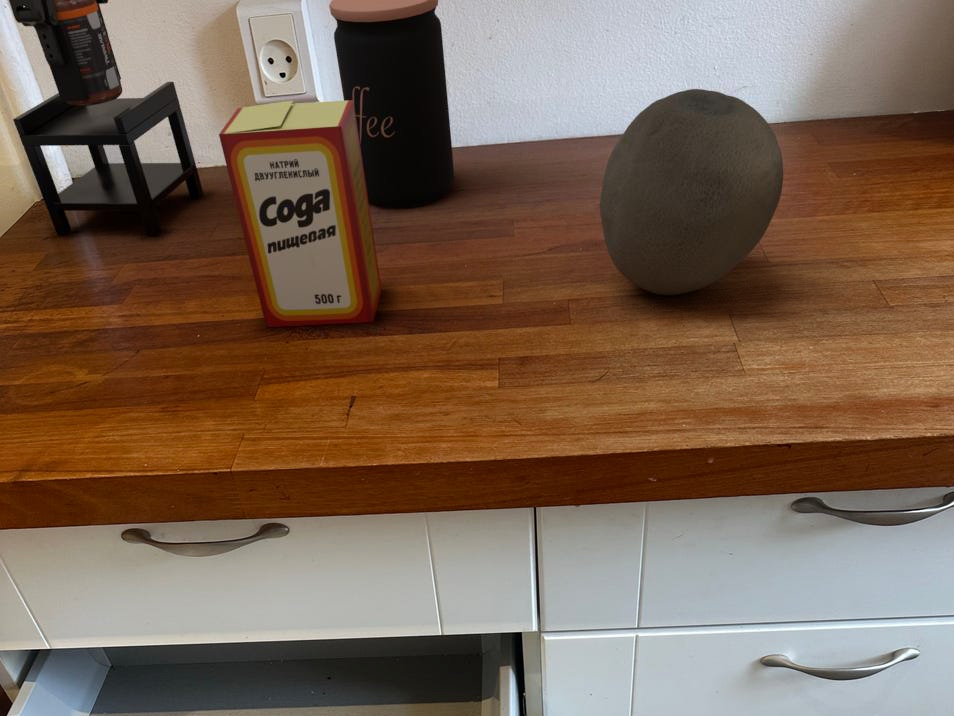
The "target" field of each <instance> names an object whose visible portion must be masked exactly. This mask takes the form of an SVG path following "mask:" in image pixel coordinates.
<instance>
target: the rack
mask: <svg viewBox="0 0 954 716" xmlns="http://www.w3.org/2000/svg"><path fill="white" fill-rule="evenodd" d="M166 118H167V119H168V123H169V127H170V130H171V134H172V137H173V141H174V145H175V148H176V151H177V155H178V158H179V162H141V158H140V155H139V152H138V149H137V144H136V142H135V141H136V140H138V139H139V138H141V137H142V136H143V135H144V134H146V133H147V132H149V131H151V130H152V129H153V128H154V127H156V126H157V125H158V124H160V123H161V122H163V121H164V120H165V119H166ZM12 121H13V123H14V126H15V128H16V131H17V133H18V137H19V139H20V142H21V145H22V147H23V150H24V152H25V155H26V158H27V159H28V163H29V165H30V169H31V170H32V173H33V175H34V179H35V181H36V183H37V186H38V189H39V192H40V194H41V196H42V199H43V201H44V204H45V207H46V209H47V212H48V214H49V217H50V220H51V222H52V225H53V228H54V231H55V233H56V235H57V236H68V235H69V234H71V233H72V231H73V230H72V227H71V225H70V222H69V218H68V216H67V214H66V212H67V211H69V212H71V211H73V212H139V215H140V217H141V221H142V224H143V227H144V230H145V232H146V236H147V237H158V236H160V235H161V234H162V233H163V231H162V227H161V224H160V221H159V218H158V214H157V210H156V206H158V204H160V203H161V202H162V201H163V200H164V199H166V198H167V197H168V196H170V194H171V193H173V192H174V191H175V190H176V189H177V188H178V187H180V186H181V185H182V184H183V183H184V182H185V184H186V188H187V191H188V195H189V198H190V199H200V198H201V197H202V196H203V195H205V194H204V190H203V185H202V182H201V179H200V175H199V171H198V167H197V164H196V160H195V156H194V152H193V149H192V144H191V141H190V138H189V134H188V131H187V126H186V123H185V119H184V115H183V112H182V108H181V104H180V99H179V97H178V93H177V89H176V86H175V82H174V81H166V82H165V83H163V84H162V85H160V86H159V87H158V88H156V89H154V90H153V91H151V92H150V93H148V94H147V95H145V96H144V97H127V98H126V97H122V98H121V97H118V98H116V99H114V100H112V101H108V102H105V103H101V104H96V105H91V106H75V105H71V104H69V103H67V102H66V101H61V98H60V95H59V92H57V93H55V94H54V95H52V96H50V97H49V98H47V99H45V100H44V101H42V102H40V103H38V104H37V105H35V106H33V107H32V108H30V109H28V110H27V111H25V112H23V113H21V114H20V115H18V116H16V117H14V118H13V119H12ZM47 146H48V147H49V146H50V147H51V146H52V147H54V146H55V147H56V146H57V147H58V146H61V147H62V146H63V147H64V146H87V148H88V150H89V153H90V157H91V159H92V162H93V165H94V167H93V168H92V169H90V170H88V171H87V172H86V173H85V174H83V175H81V176H80V177H79V178H77V179H76V180H75V181H73V182H72V183H70V184H69V185H67V186H66V187H65V188H64V189H63V190H61V191H59V192H58V189H57V187H56V184H55V182H54V181H55V180H54V179H53V176H52V173H51V170H50V168H49V165H48V162H47V160H46V157H45V155H44V151H43V149H42V147H47ZM104 146H118V148H119V151H120V154H121V157H122V161H123V162H109V159H108V156H107V153H106V150H105V147H104Z"/></svg>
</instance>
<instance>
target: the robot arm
mask: <svg viewBox="0 0 954 716" xmlns="http://www.w3.org/2000/svg"><path fill="white" fill-rule="evenodd" d="M8 3H9V5H10V8H11V11H12V14H13V17H14V20H15V21H16V22H17V23H18V24H21V25H22V26H24V27H33V29H34V30H35V33H36V35H37V37H38V41H39V45H40V46H41V48H42V52H43V55H44V58H45V61H46V63H47V64H48V66H49V69H50V72H51V75H52V78H53V80H54V84H55V86H56V89H57V93H59V95H60V98H61V101H87V100H88V99H89V96H88V92H87V89H86V86H85V83H84V80H83V77H82V74H81V71H80V68H79V65H78V62H77V59H76V56H75V53H74V50H73V46H72V43H71V40H70V37H69V34H68V31H67V28H66V25H65V23H57V22H58V20H57V14H56V8H55V2H54V0H8ZM96 3H97V6H98V9H99V12H100V16H101V19H102V22H103V26H104V28H105V32H106V36H107V39H108V42H109V46H110V49H111V52H112V55H113V58H114V62H115V65H116V69H117V72H118V75H119V78H120V81H121V80H122V77H121V74H120V70H119V67H118V64H117V60H116V57H115V54H114V51H113V47H112V44H111V40H110V37H109V33H108V29H107V26H106V22H105V19H104V16H103V12H102V9H101V7H100V5H103V4H105V5H106V4H108V3H109V0H96ZM43 8H44V9H43Z"/></svg>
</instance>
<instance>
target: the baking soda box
mask: <svg viewBox="0 0 954 716" xmlns="http://www.w3.org/2000/svg"><path fill="white" fill-rule="evenodd" d="M293 102H294V100H293V99H292V100H286V101H280V102H279V101H278V102H272V103H266V104H258V105H252V106H244V107H243V106H242V107H238V108H237V109H236V110H235V111H234V113H233V114H232V115H231V117H230V118H229V120H228V121H227V123H225V125H224V126H223V128H222V129H221V131H220V132H219V133H218V138H219V140H220V145H221V148H222V149H221V150H222V154H223V157H224V161H225V166H226V169H227V173H228V178H229V181H230V186H231V189H232V194H233V198H234V202H235V207H236V210H237V214H238V217H239V218H238V219H239V223H240V227H241V230H242V233H243V234H242V235H243V238H244V243H245V247H246V250H247V256H248V258H249V259H248V260H249V263H250V267H251V271H252V274H253V279H254V283H255V288H256V291H257V296H258V299H259V303H260V308H261V311H262V315H263V319H264V323H265V328H282V327H299V326H300V327H302V326H319V325H321V326H322V325H323V326H324V325H339V324H340V325H341V324H361V323H362V324H363V323H374V320H375V316H376V312H377V309H378V305H379V301H380V296H381V293H382V289H383V288H382V282H381V277H380V276H381V275H380V269H379V263H378V256H377V249H376V242H375V237H374V236H375V235H374V228H373V222H372V216H371V209H370V202H369V201H368V195H367V189H366V182H365V176H364V169H363V162H362V156H361V149H360V142H359V136H358V129H357V123H356V116H355V109H354V103H353V100H347V101H344V100H335V101H334V100H333V101H332V100H331V101H316V102H298V103H293Z"/></svg>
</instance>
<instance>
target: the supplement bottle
mask: <svg viewBox="0 0 954 716" xmlns="http://www.w3.org/2000/svg"><path fill="white" fill-rule="evenodd" d="M54 2H55V8H56V14H57V20H58V22H57V23H65V25H66V28H67V31H68V34H69V37H70V40H71V43H72V46H73V50H74V53H75V56H76V59H77V62H78V65H79V68H80V71H81V74H82V77H83V80H84V83H85V86H86V89H87V92H88V96H89V99H88V100H87V101H66V102H67V103H69V104H71V105H75V106H91V105H96V104H101V103H105V102H108V101H112V100H114V99H116V98H120V97H121V95H122V94H123V87H122V82H121V80H120V78H119V75H118V72H117V69H116V65H115V62H114V58H113V55H112V52H111V49H110V46H109V42H108V39H107V36H106V32H105V28H104V26H103V22H102V19H101V16H100V12H99V9H98V6H97V3H96V0H54ZM43 9H44V8H43Z"/></svg>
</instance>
